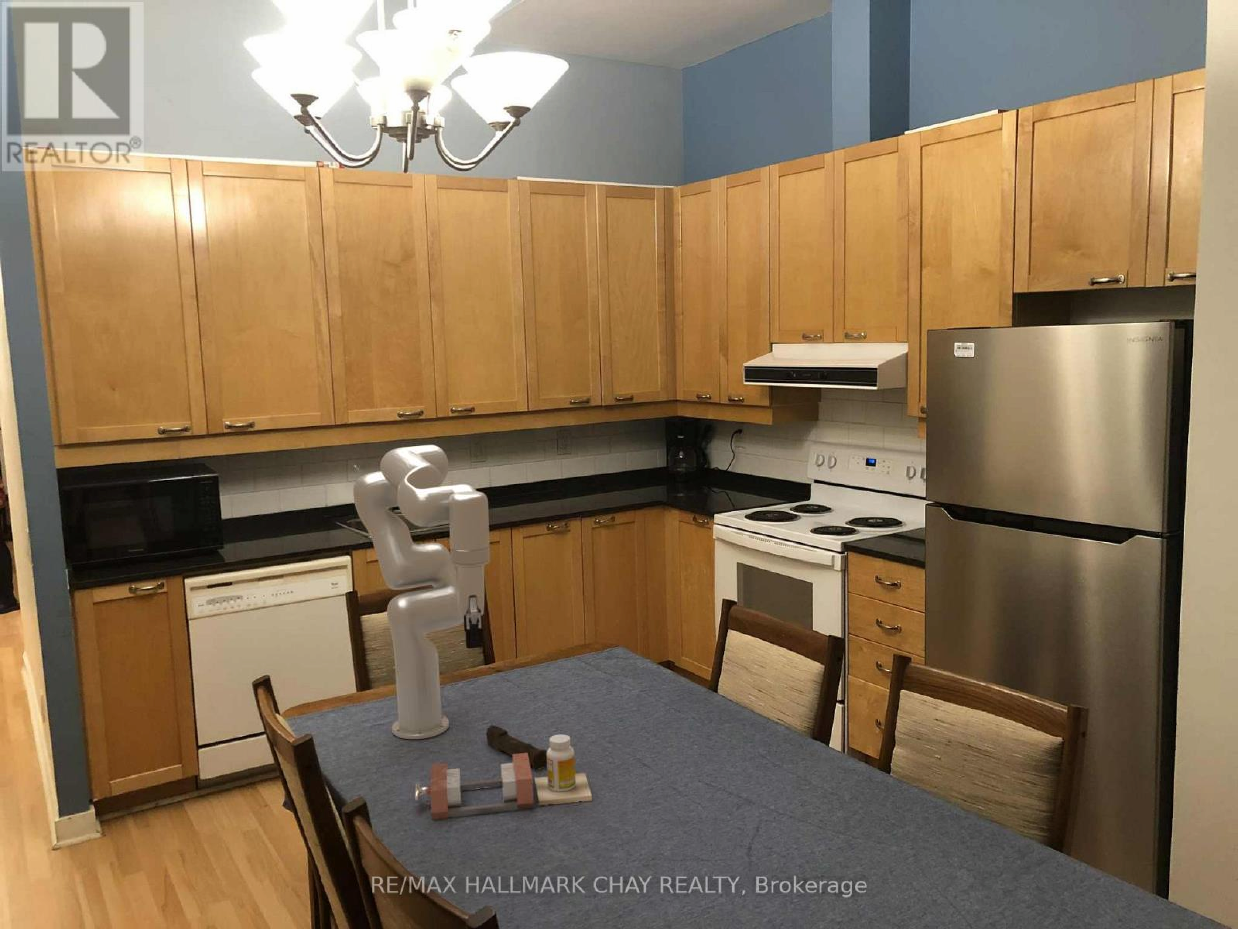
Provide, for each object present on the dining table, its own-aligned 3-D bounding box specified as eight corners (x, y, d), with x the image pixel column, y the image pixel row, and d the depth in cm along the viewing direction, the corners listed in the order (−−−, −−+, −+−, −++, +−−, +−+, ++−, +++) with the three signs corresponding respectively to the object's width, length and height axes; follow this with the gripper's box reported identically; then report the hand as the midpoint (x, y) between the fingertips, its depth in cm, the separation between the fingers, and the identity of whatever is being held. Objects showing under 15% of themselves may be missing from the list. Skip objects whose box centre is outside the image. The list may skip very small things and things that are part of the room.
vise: (417, 793, 199) (415, 763, 198) (528, 781, 202) (527, 752, 201) (415, 821, 187) (413, 790, 187) (533, 808, 191) (532, 778, 190)
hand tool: (550, 767, 209) (549, 745, 209) (534, 773, 207) (533, 751, 206) (498, 740, 223) (497, 720, 223) (482, 745, 221) (482, 725, 220)
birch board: (534, 782, 202) (534, 778, 201) (585, 777, 203) (584, 772, 203) (539, 806, 192) (539, 801, 192) (591, 800, 193) (591, 795, 193)
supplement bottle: (579, 781, 199) (578, 734, 198) (569, 794, 194) (567, 745, 193) (554, 778, 201) (552, 731, 200) (543, 790, 196) (541, 742, 195)
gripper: (449, 545, 206) (452, 626, 209) (451, 568, 189) (455, 656, 192) (487, 543, 208) (489, 624, 210) (492, 565, 191) (495, 653, 194)
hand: (473, 639), depth 201 cm, fingers open, 9 cm apart
